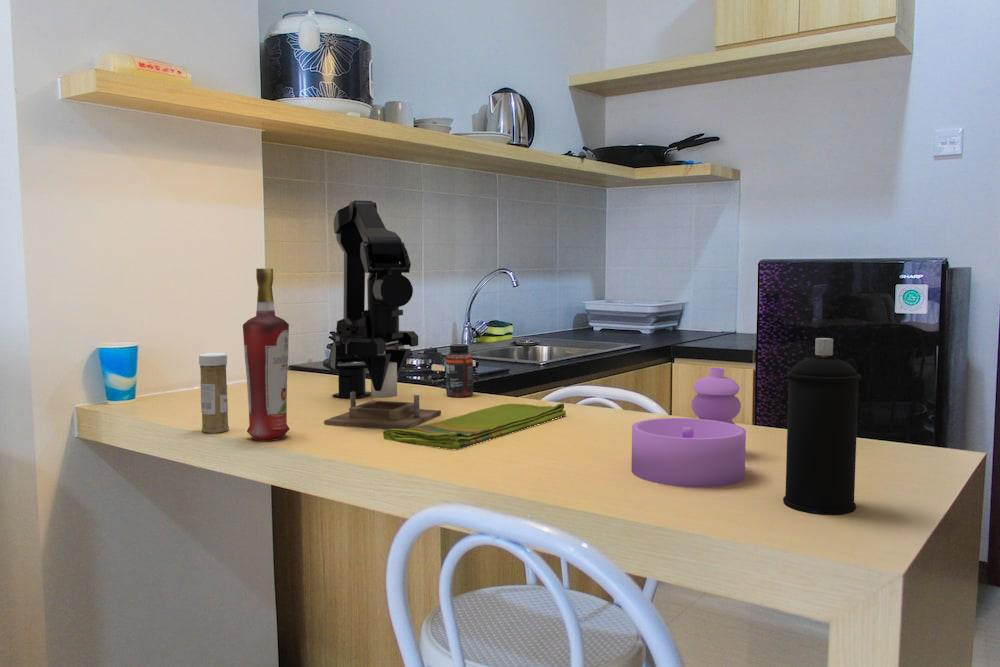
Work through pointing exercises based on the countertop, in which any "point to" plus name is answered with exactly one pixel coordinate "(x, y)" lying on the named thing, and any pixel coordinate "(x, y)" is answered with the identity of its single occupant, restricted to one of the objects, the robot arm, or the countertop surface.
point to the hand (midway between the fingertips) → (384, 388)
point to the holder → (383, 414)
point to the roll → (387, 383)
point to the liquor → (266, 365)
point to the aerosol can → (821, 433)
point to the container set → (694, 440)
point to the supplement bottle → (459, 371)
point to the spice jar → (214, 392)
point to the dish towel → (476, 426)
